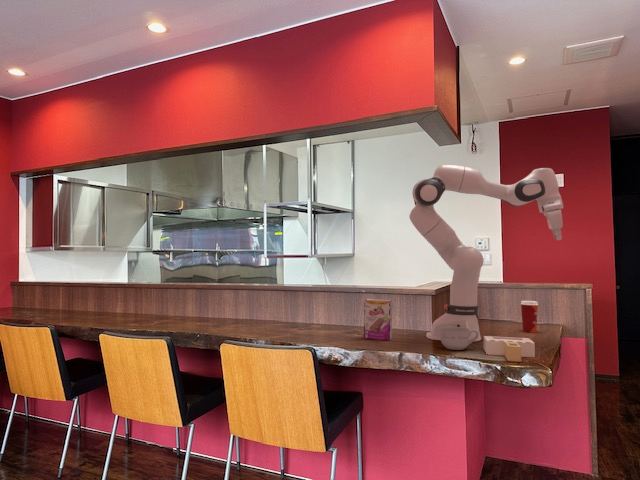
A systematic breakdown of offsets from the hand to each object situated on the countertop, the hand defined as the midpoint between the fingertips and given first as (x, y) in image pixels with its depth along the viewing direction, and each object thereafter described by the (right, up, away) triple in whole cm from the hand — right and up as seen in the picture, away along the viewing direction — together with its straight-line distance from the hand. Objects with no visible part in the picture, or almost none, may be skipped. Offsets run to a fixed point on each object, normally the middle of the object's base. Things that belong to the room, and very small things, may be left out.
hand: (558, 239), depth 182 cm
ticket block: (-28, -42, -18) cm, 53 cm away
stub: (-30, -41, -27) cm, 58 cm away
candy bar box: (-73, -42, +6) cm, 84 cm away
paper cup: (0, -43, +26) cm, 50 cm away
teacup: (-44, -42, -12) cm, 62 cm away
